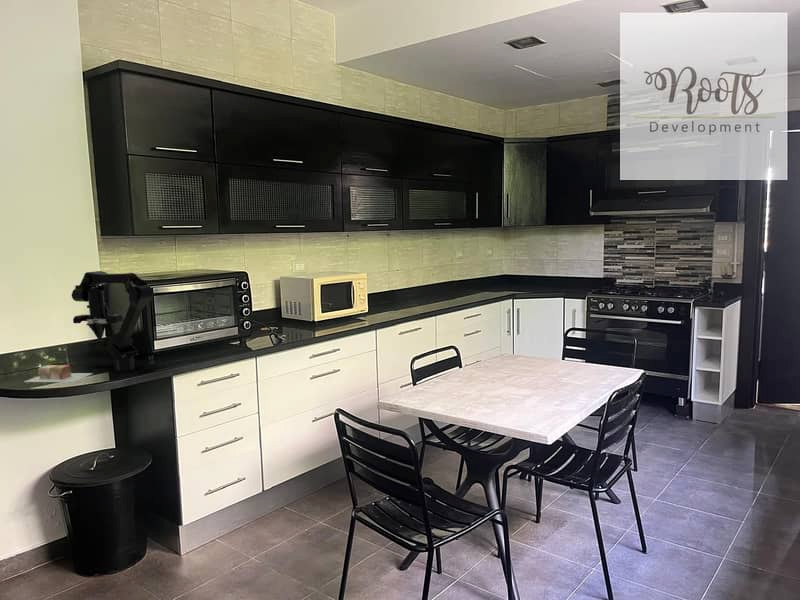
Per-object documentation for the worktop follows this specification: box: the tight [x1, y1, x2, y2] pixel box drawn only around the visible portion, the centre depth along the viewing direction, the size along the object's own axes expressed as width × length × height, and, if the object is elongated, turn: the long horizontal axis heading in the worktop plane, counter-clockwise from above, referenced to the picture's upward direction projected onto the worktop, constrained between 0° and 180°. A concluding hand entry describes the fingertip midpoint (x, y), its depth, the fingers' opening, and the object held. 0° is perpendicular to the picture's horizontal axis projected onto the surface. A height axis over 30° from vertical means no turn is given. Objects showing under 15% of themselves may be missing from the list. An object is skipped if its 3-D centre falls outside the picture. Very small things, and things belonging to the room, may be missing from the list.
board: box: [23, 372, 94, 383], centre depth 231 cm, size 20×13×1 cm, turn 83°
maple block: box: [38, 364, 72, 379], centre depth 230 cm, size 4×4×10 cm
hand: (100, 339), depth 243 cm, fingers closed
